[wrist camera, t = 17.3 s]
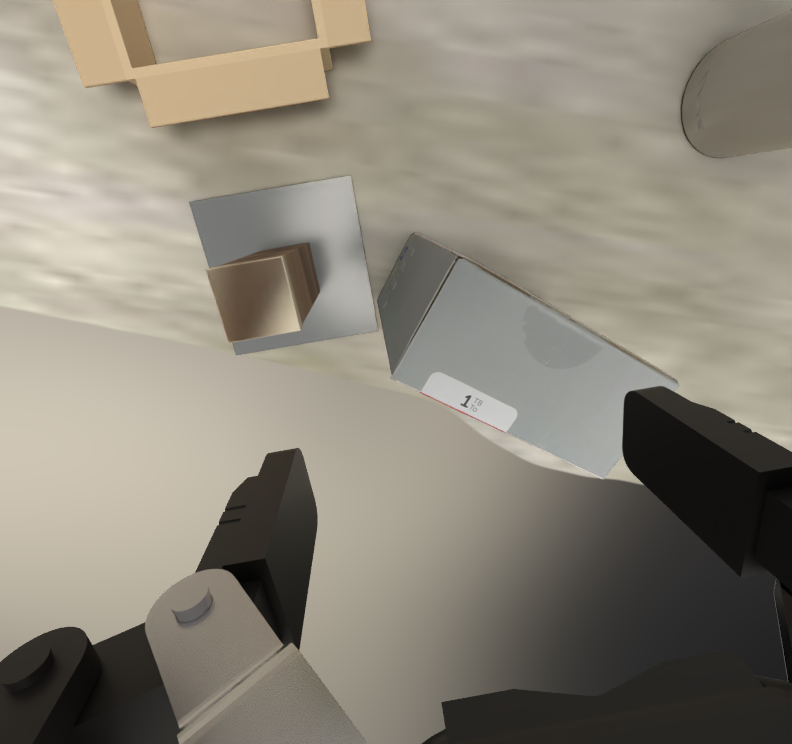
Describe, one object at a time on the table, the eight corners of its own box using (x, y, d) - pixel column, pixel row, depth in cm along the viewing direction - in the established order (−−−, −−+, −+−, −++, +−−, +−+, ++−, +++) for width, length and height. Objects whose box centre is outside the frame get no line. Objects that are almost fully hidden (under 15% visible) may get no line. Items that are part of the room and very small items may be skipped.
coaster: (350, 175, 37) (350, 175, 37) (377, 329, 42) (378, 330, 42) (191, 202, 37) (189, 202, 37) (237, 353, 42) (236, 355, 42)
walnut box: (309, 241, 38) (281, 256, 25) (321, 292, 40) (300, 330, 27) (259, 250, 38) (205, 269, 25) (272, 300, 40) (228, 343, 27)
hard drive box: (374, 302, 41) (383, 376, 23) (412, 229, 39) (457, 244, 21) (505, 371, 45) (605, 483, 26) (547, 307, 43) (689, 380, 24)
